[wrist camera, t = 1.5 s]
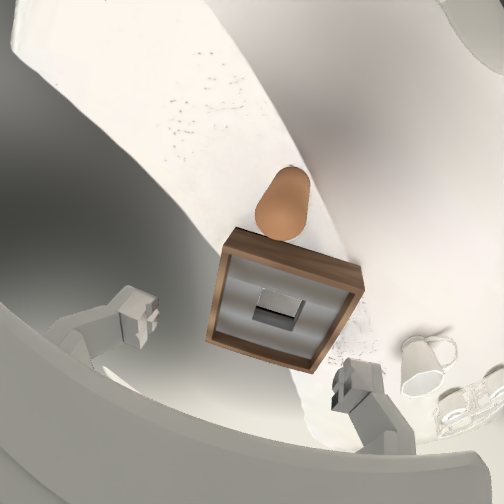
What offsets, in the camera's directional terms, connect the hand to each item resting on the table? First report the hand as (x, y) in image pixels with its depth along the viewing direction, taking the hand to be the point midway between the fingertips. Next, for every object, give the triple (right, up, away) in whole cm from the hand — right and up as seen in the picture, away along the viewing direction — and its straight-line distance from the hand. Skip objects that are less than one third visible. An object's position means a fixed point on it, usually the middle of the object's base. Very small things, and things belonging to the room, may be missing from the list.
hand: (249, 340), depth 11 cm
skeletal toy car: (+47, -26, +29) cm, 61 cm away
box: (+4, -2, +26) cm, 27 cm away
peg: (+4, +11, +19) cm, 22 cm away
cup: (+27, -10, +25) cm, 38 cm away
